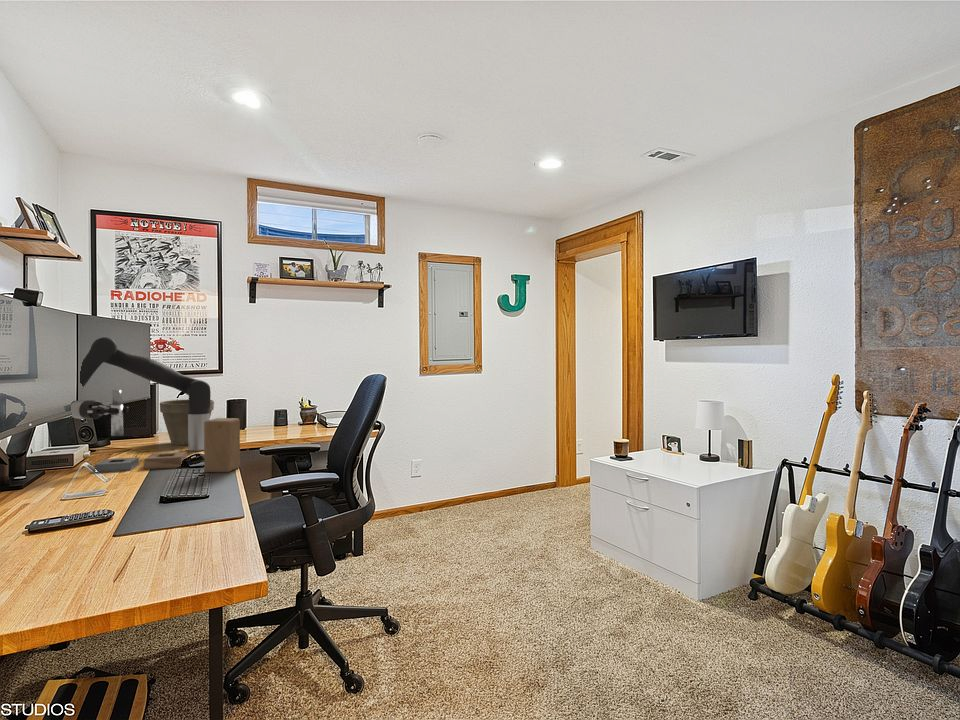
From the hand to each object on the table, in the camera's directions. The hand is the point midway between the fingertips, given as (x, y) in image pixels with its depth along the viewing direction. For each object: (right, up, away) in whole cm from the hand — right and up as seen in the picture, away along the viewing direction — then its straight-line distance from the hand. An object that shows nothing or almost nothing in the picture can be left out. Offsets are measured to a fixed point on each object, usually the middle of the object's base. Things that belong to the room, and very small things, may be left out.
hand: (123, 410), depth 216 cm
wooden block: (+41, -24, -3) cm, 47 cm away
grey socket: (-3, -23, +1) cm, 23 cm away
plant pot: (-9, -23, +64) cm, 69 cm away
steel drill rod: (-3, -10, +1) cm, 10 cm away
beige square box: (+13, -23, +7) cm, 28 cm away
